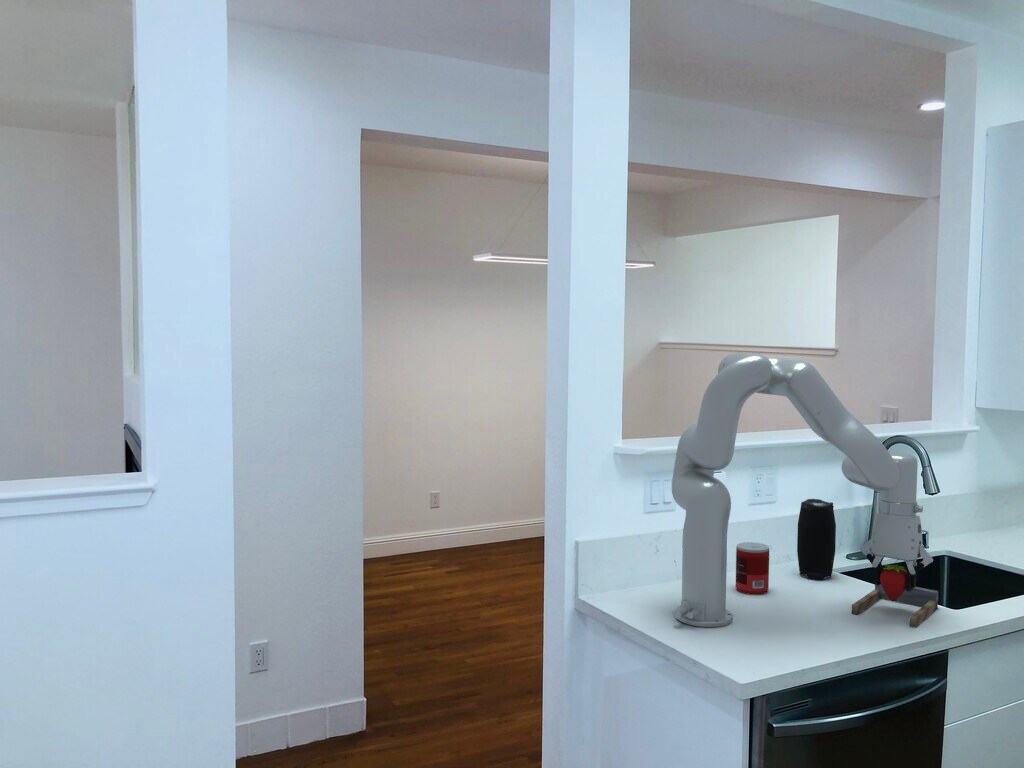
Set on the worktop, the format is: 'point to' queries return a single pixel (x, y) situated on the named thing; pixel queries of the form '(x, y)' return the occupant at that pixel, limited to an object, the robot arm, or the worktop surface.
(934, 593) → the frame
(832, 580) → the worktop surface
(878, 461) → the robot arm
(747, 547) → the canned food
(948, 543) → the worktop surface
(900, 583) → the strawberry
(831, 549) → the portable speaker
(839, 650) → the worktop surface
